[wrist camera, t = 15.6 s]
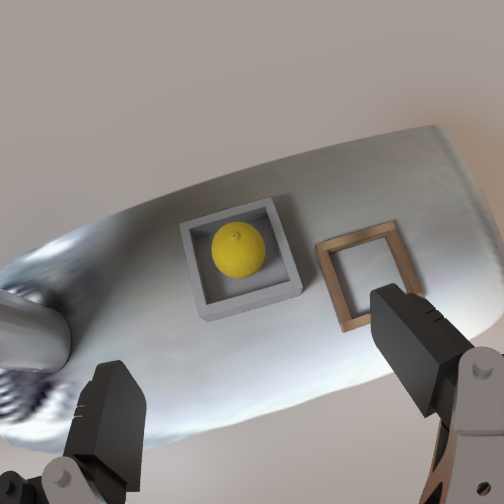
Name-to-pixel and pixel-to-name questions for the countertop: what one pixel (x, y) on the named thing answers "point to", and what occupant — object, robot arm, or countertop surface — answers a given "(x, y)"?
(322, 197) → the countertop surface
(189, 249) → the holder
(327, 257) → the cradle
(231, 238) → the lemon
